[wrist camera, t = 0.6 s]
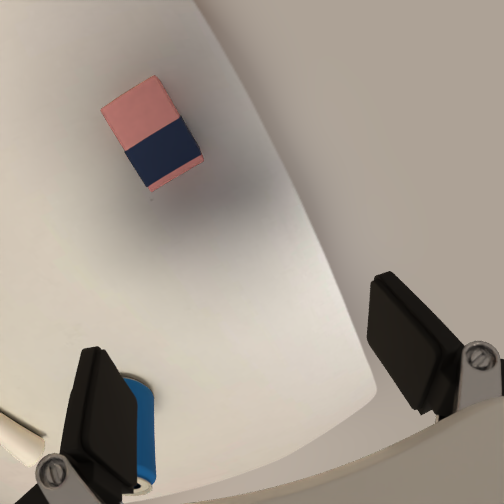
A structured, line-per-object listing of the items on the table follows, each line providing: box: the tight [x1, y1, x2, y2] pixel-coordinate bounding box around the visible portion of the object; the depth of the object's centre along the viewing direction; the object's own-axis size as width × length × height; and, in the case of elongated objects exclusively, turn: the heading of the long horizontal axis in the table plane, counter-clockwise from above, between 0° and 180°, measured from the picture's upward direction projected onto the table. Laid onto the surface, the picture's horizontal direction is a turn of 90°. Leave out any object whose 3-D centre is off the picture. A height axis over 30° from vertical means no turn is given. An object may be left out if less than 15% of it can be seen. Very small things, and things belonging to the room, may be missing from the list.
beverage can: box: [122, 377, 156, 496], centre depth 26 cm, size 6×6×12 cm
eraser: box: [101, 75, 204, 192], centre depth 20 cm, size 6×4×3 cm, turn 27°
